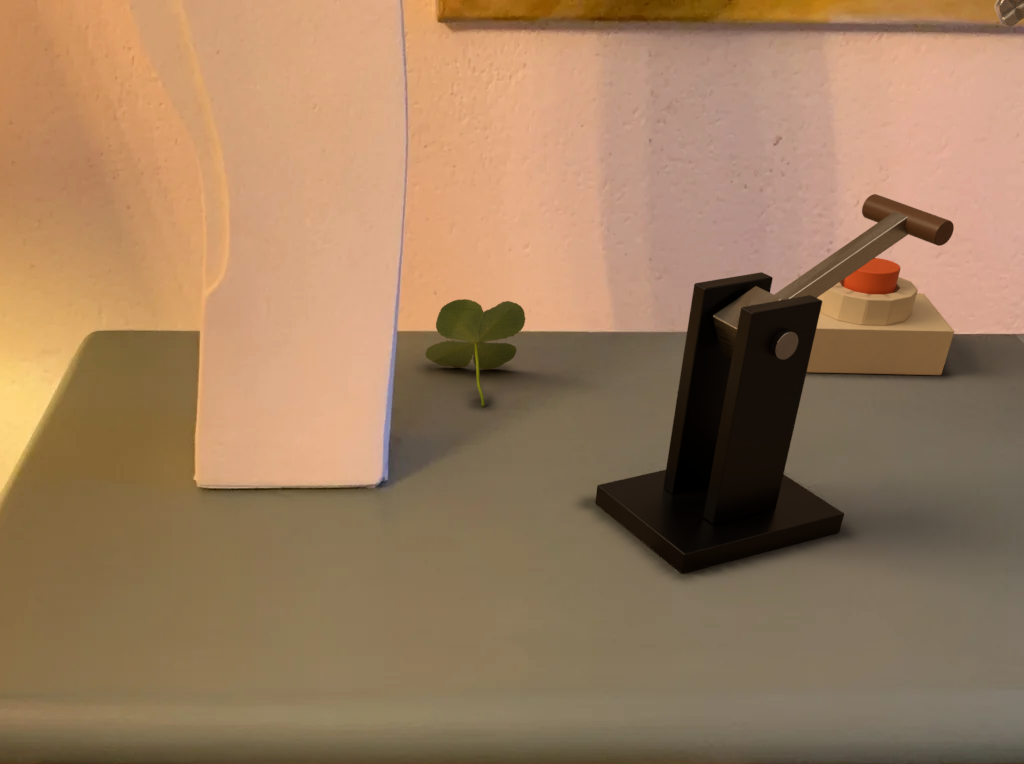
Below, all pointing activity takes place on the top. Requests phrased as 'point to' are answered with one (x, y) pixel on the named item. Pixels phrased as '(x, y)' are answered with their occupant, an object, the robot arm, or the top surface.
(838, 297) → the button block
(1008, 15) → the robot arm
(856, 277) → the button
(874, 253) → the lever handle
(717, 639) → the top surface
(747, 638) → the top surface
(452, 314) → the seedling
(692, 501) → the black lever stand
